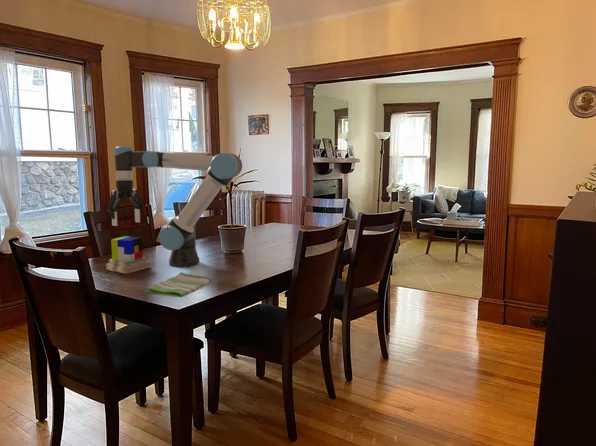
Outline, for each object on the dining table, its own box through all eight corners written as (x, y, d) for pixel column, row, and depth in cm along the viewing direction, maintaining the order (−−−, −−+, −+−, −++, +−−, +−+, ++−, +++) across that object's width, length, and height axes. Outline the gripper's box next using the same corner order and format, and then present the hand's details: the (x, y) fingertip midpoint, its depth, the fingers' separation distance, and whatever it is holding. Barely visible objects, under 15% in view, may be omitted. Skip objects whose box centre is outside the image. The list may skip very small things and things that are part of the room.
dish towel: (212, 283, 193) (212, 275, 192) (182, 298, 171) (182, 289, 171) (179, 279, 198) (179, 271, 198) (146, 293, 177) (145, 285, 176)
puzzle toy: (130, 261, 208) (129, 240, 206) (112, 260, 210) (111, 239, 209) (142, 257, 217) (142, 237, 216) (125, 255, 220) (124, 236, 218)
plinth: (149, 267, 217) (149, 257, 217) (126, 273, 205) (126, 263, 204) (129, 264, 224) (129, 254, 223) (106, 269, 212) (105, 259, 211)
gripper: (139, 178, 221) (141, 220, 224) (96, 180, 199) (98, 226, 202) (150, 179, 218) (151, 221, 221) (107, 180, 196) (109, 227, 199)
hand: (126, 224), depth 211 cm, fingers open, 13 cm apart
